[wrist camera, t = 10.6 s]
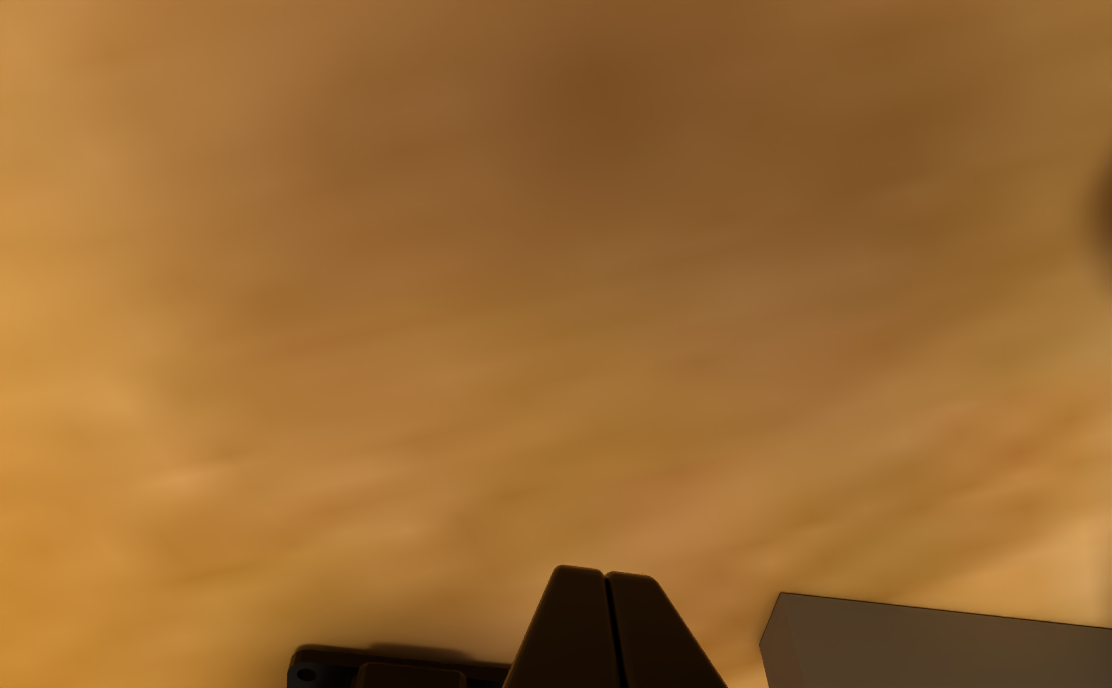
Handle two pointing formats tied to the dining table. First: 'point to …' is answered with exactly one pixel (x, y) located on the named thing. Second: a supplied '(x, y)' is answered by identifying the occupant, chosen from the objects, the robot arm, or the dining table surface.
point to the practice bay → (925, 648)
